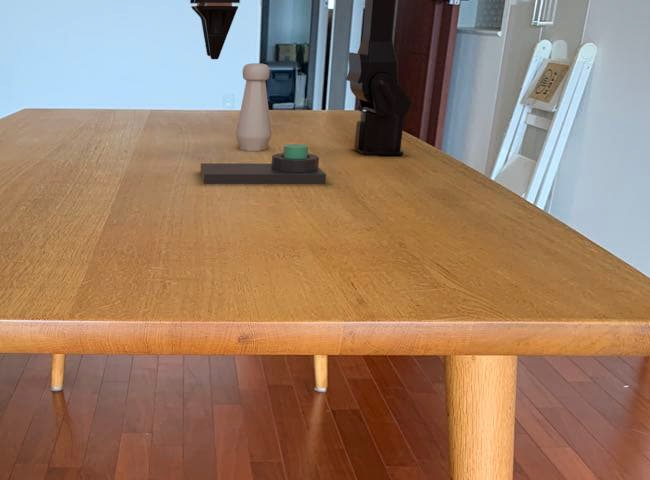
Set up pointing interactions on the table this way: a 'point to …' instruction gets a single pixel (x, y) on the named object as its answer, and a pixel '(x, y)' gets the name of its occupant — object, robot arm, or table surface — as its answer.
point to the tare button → (295, 151)
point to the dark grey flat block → (265, 172)
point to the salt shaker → (254, 109)
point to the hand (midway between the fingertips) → (212, 57)
